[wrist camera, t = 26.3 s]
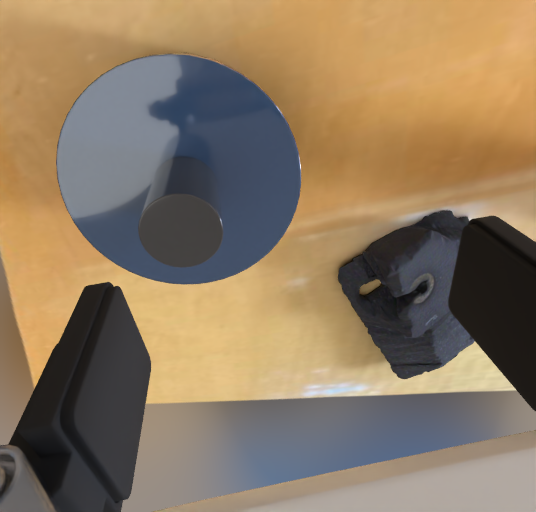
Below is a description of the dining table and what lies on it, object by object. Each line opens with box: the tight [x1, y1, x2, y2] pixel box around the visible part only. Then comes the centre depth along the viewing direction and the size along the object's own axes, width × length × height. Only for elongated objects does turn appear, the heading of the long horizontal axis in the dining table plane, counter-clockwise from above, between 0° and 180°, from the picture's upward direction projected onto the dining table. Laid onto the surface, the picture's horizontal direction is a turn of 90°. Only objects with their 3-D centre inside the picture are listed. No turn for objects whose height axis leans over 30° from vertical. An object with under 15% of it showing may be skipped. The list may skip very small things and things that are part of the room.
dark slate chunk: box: [338, 211, 475, 379], centre depth 42 cm, size 15×22×5 cm
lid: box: [56, 53, 301, 284], centre depth 21 cm, size 15×15×7 cm
